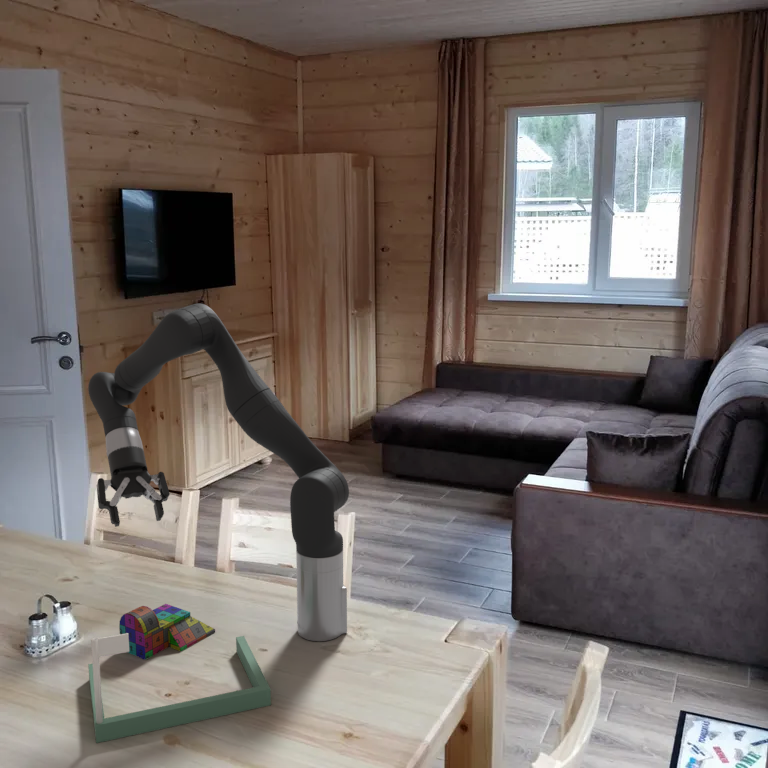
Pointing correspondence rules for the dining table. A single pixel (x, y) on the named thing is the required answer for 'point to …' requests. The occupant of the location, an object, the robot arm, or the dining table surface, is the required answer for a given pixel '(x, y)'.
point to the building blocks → (161, 630)
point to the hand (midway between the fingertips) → (138, 522)
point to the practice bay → (174, 712)
